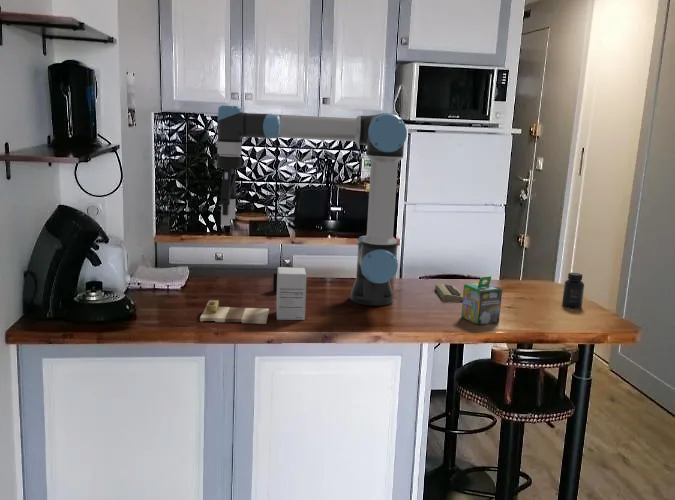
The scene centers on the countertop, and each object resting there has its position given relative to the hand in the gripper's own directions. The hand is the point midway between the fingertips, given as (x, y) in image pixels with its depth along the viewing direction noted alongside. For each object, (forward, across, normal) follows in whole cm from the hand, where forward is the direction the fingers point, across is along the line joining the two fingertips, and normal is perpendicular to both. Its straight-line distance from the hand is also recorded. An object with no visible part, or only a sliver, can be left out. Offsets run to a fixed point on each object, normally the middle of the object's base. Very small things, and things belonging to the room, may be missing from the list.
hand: (228, 222), depth 210 cm
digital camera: (+28, -22, +19) cm, 41 cm away
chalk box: (+28, +6, +83) cm, 88 cm away
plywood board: (+28, +12, +4) cm, 31 cm away
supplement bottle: (+28, -15, +122) cm, 126 cm away
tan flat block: (+29, -23, +79) cm, 87 cm away
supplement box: (+28, +9, +21) cm, 36 cm away
